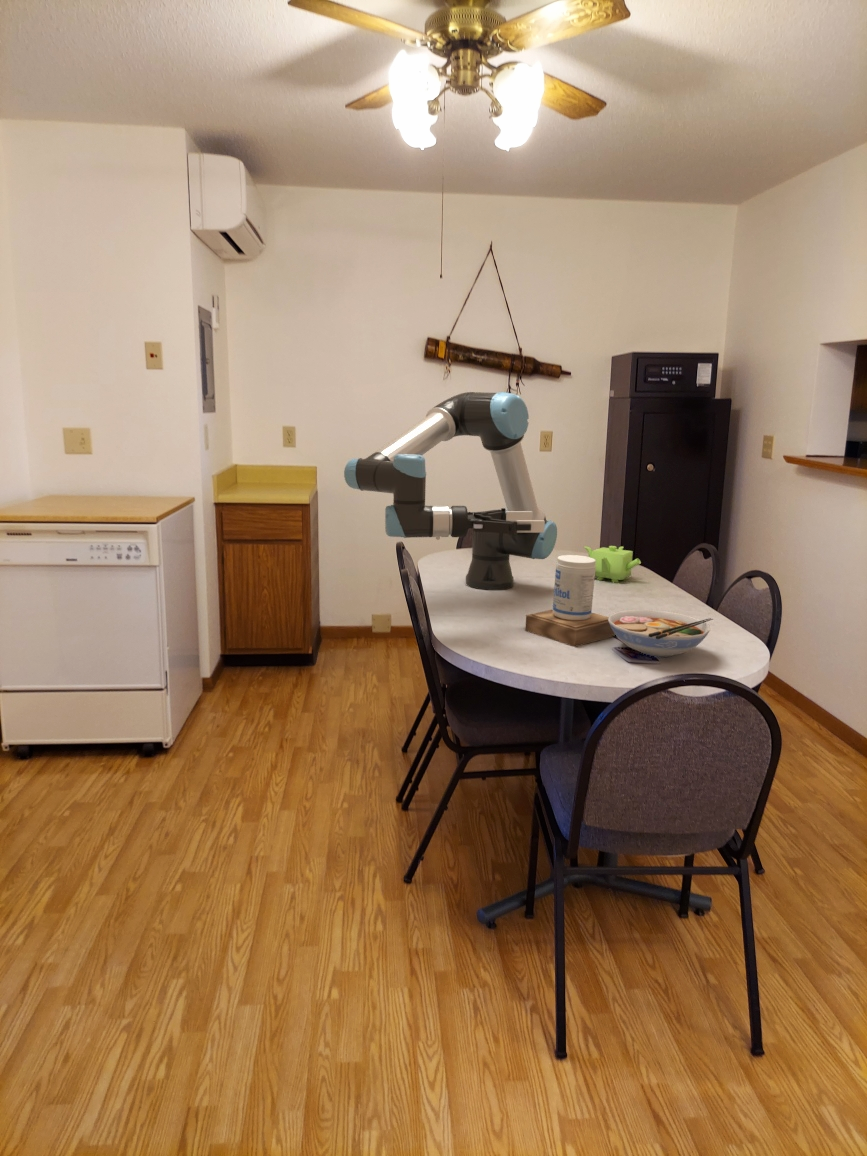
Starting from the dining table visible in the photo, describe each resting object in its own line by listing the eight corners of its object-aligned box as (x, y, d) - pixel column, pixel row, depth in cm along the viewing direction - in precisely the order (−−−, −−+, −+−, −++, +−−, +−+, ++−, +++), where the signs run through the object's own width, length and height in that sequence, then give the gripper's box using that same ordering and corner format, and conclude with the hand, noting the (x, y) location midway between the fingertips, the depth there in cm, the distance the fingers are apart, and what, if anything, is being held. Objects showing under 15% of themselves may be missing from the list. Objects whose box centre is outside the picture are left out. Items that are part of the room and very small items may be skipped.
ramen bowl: (644, 632, 196) (647, 601, 194) (729, 655, 179) (733, 621, 177) (582, 650, 179) (584, 616, 178) (668, 677, 163) (672, 640, 161)
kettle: (580, 575, 261) (583, 542, 259) (619, 574, 264) (621, 542, 262) (599, 585, 247) (602, 550, 244) (640, 584, 250) (643, 550, 248)
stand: (525, 630, 194) (526, 613, 193) (567, 620, 204) (568, 604, 203) (574, 646, 182) (576, 628, 181) (616, 635, 192) (618, 618, 191)
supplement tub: (544, 615, 192) (548, 557, 189) (567, 609, 199) (571, 553, 195) (576, 623, 185) (580, 563, 182) (599, 617, 192) (603, 559, 188)
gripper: (444, 527, 197) (526, 527, 199) (455, 547, 173) (549, 547, 174) (445, 498, 195) (528, 498, 197) (456, 514, 171) (550, 514, 173)
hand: (538, 521), depth 186 cm, fingers open, 13 cm apart
